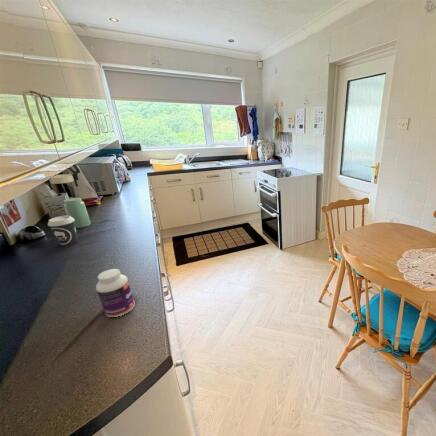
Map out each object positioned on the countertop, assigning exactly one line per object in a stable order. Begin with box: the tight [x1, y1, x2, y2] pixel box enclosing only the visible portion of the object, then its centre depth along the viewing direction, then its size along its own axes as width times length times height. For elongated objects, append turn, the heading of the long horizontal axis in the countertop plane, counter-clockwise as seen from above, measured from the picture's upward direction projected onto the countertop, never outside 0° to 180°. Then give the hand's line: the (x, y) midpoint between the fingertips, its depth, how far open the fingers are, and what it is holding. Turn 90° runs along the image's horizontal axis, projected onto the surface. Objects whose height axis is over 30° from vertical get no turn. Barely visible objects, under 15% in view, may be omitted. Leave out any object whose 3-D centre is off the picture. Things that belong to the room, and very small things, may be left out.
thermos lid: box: [49, 173, 74, 185], centre depth 122 cm, size 9×9×3 cm
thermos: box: [63, 197, 92, 229], centre depth 138 cm, size 9×9×16 cm
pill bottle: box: [95, 268, 136, 318], centre depth 74 cm, size 8×8×14 cm
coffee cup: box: [47, 215, 79, 247], centre depth 114 cm, size 10×10×15 cm
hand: (64, 187), depth 124 cm, fingers closed on thermos lid, 9 cm apart
